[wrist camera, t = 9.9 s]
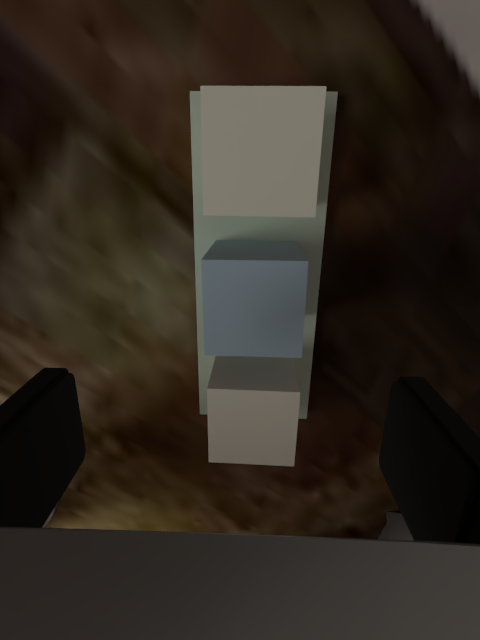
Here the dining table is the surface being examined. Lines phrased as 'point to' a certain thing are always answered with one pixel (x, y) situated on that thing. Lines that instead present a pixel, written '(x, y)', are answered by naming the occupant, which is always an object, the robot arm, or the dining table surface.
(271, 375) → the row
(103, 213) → the dining table surface
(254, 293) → the block
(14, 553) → the robot arm
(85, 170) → the dining table surface
